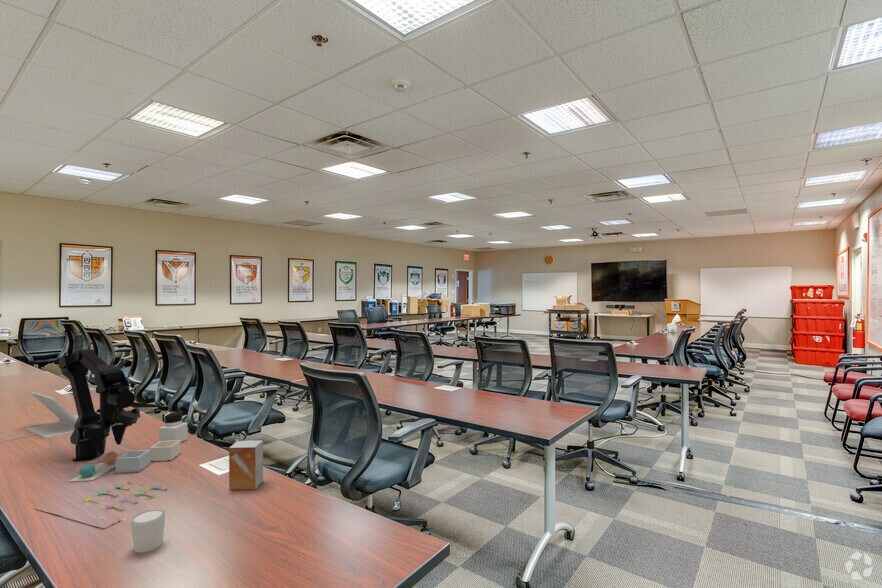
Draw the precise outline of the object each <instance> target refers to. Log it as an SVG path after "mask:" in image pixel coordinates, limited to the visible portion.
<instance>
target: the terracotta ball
mask: <svg viewBox="0 0 882 588" xmlns="http://www.w3.org/2000/svg"><path fill="white" fill-rule="evenodd" d="M118 457H119V455H118V452H115V451H109V452H108V453H107V452H106V454H104V457H103V463H106V464H113V463H114V462H116V460H115V459H116V458H118Z"/></svg>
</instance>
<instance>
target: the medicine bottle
mask: <svg viewBox="0 0 882 588" xmlns="http://www.w3.org/2000/svg"><path fill="white" fill-rule="evenodd" d="M163 417H164V419H163V420H164V425H162V426H160V427H158V438H159V439H158V442H160V441H173V440H181V442H182V443H184V442H186V441H188V439H189V438H188V437H189V436H188V435H189V433H188V422H183V413H182V412H181V411H171V412H167V413H166V414H165V415H164V416H163ZM185 440H186V441H185ZM183 441H184V442H183Z"/></svg>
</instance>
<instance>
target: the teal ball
mask: <svg viewBox="0 0 882 588" xmlns="http://www.w3.org/2000/svg"><path fill="white" fill-rule="evenodd" d="M94 472H95V465H94V464H92V463H86V464H84V465H82V466H81V467H80V469H79V472H78V473H79V475H81V476H83V477H88V476H91V475H92V474H93V473H94Z"/></svg>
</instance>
